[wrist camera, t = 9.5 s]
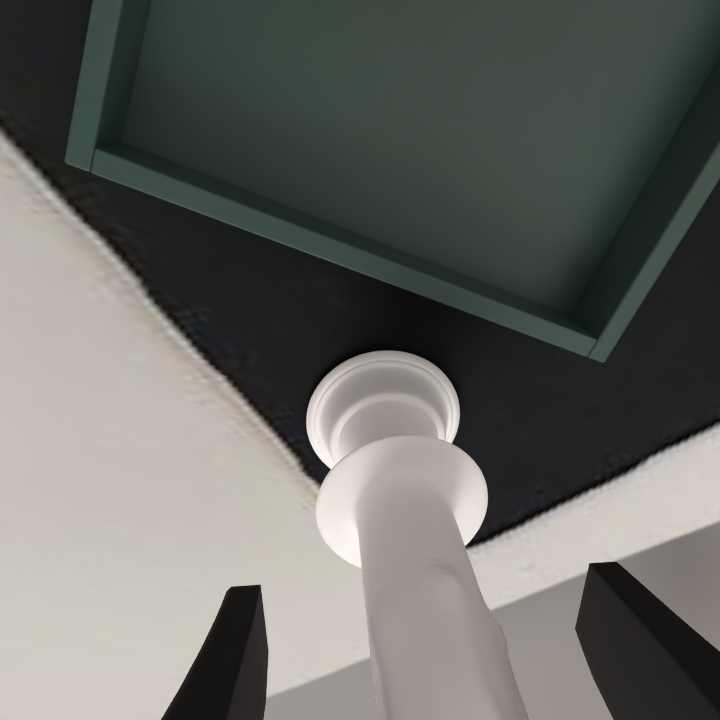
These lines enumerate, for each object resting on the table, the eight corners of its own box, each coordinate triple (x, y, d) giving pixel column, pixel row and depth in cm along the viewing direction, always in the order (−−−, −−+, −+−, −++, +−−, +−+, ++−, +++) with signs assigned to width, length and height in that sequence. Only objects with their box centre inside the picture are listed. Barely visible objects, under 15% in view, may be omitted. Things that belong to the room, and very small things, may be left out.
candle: (278, 442, 19) (232, 875, 8) (359, 320, 18) (431, 666, 7) (402, 501, 21) (499, 932, 10) (488, 393, 19) (717, 772, 8)
